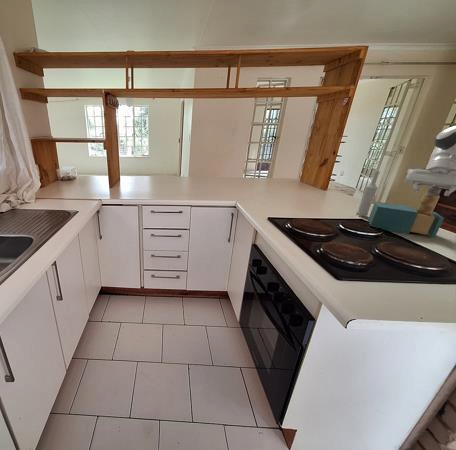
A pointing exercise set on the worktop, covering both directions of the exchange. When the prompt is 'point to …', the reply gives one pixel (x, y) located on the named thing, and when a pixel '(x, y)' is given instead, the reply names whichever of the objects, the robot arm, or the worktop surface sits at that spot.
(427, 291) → the worktop surface
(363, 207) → the bottle
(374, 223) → the cabinet
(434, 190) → the pepper mill
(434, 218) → the drawer
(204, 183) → the worktop surface
